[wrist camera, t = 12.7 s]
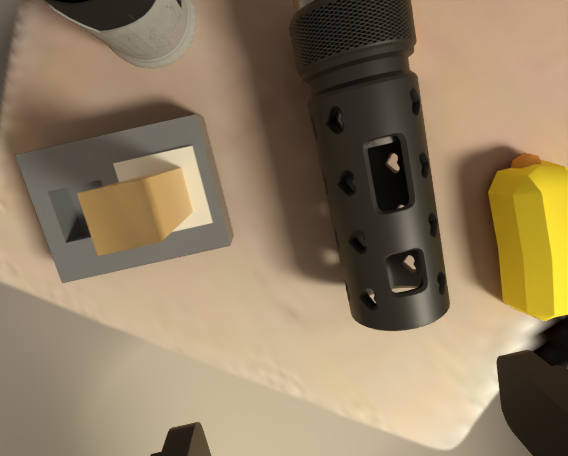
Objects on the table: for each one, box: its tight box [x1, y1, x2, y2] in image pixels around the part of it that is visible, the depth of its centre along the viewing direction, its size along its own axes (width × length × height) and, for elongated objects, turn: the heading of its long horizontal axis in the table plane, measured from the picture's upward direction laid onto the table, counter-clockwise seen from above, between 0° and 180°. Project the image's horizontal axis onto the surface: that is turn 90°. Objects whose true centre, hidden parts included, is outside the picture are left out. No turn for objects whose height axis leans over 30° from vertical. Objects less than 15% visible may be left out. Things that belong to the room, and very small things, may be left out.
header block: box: [15, 114, 234, 283], centre depth 36 cm, size 12×16×4 cm
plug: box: [77, 168, 193, 256], centre depth 29 cm, size 4×4×11 cm
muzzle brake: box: [289, 0, 450, 331], centre depth 34 cm, size 10×28×10 cm, turn 13°
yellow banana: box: [488, 153, 568, 321], centre depth 38 cm, size 18×7×8 cm
